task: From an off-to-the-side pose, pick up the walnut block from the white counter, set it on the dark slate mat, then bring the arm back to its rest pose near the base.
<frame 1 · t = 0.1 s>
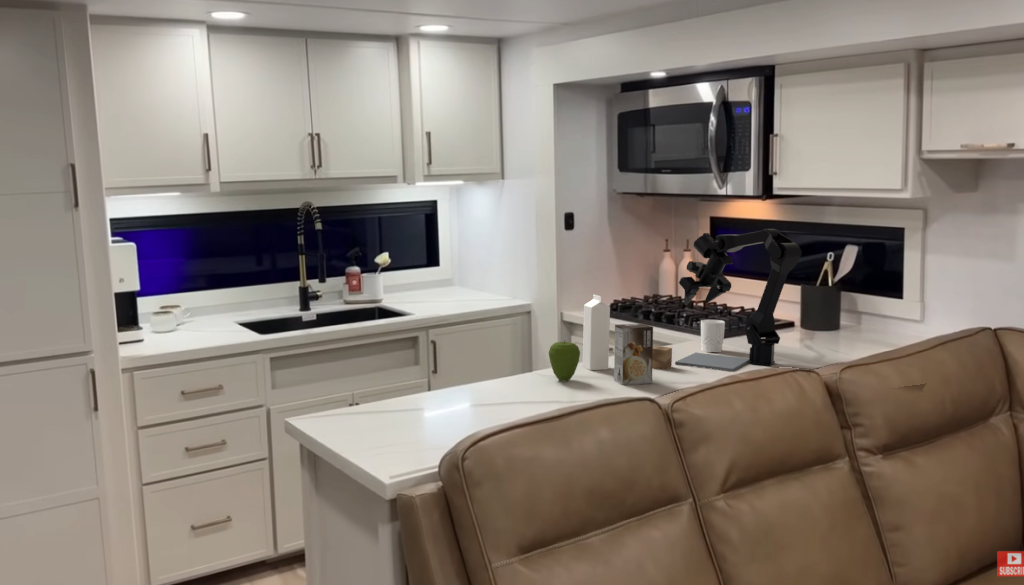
hand: (695, 303, 297), 15 cm above the counter, tool tilted 30°, fingers open, 9 cm apart
milk: (595, 368, 263), on the counter
white cup: (711, 351, 292), on the counter
printed cardboard box: (632, 382, 245), on the counter
walnut block: (660, 367, 265), on the counter
slate mat: (713, 362, 272), on the counter
apple: (563, 380, 246), on the counter
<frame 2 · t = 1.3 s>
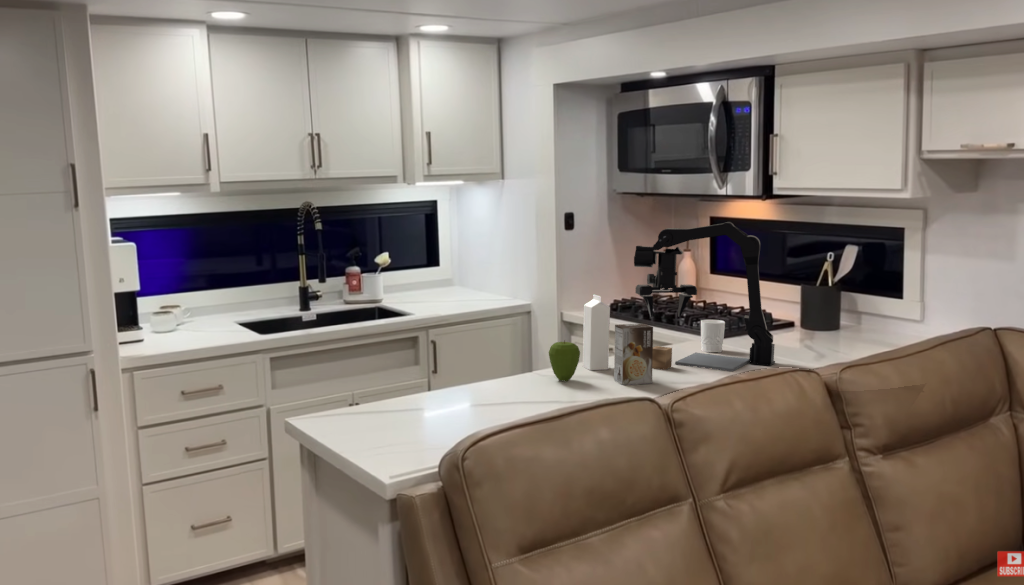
hand: (665, 316, 279), 13 cm above the counter, tool pointing down, fingers open, 9 cm apart
nothing on the counter moved.
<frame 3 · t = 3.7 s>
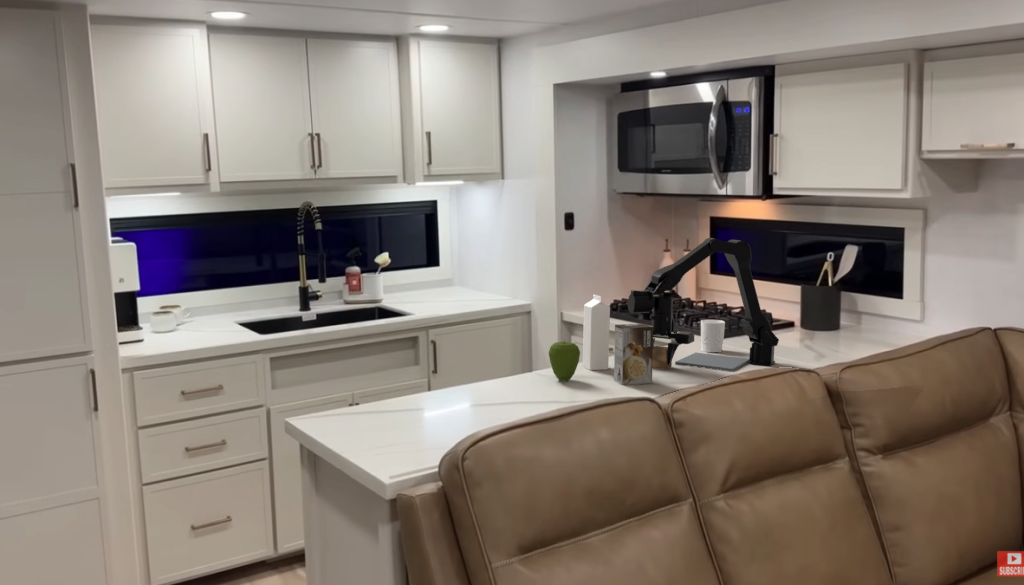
hand: (660, 363, 264), 1 cm above the counter, tool pointing down, fingers closed on walnut block, 5 cm apart
walnut block: (660, 367, 265), on the counter, touching gripper
everything else where it was.
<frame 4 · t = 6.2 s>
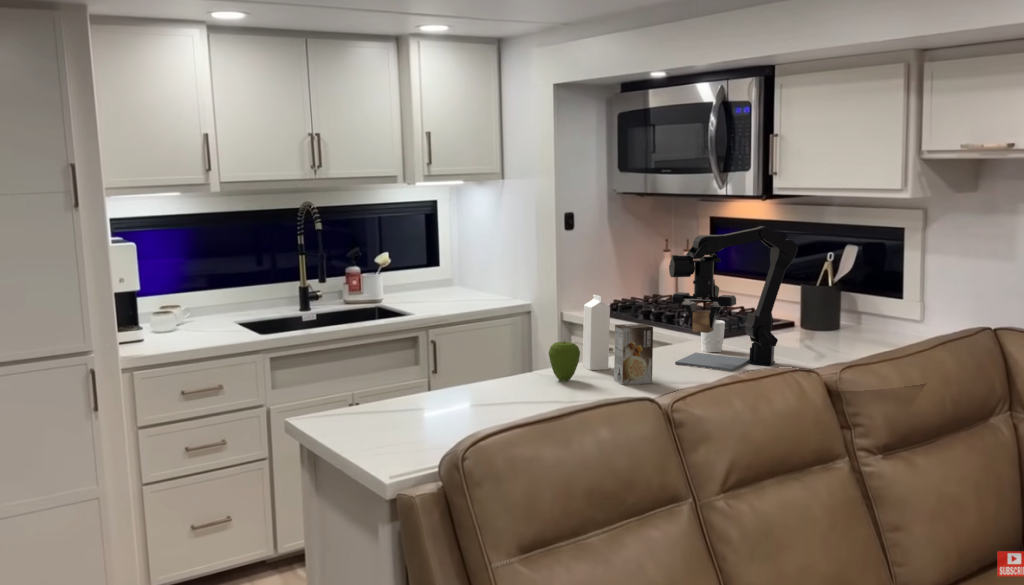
hand: (703, 327, 269), 12 cm above the counter, tool pointing down, fingers closed on walnut block, 5 cm apart
walnut block: (703, 331, 269), point 10 cm above the counter, touching gripper
everything else where it was.
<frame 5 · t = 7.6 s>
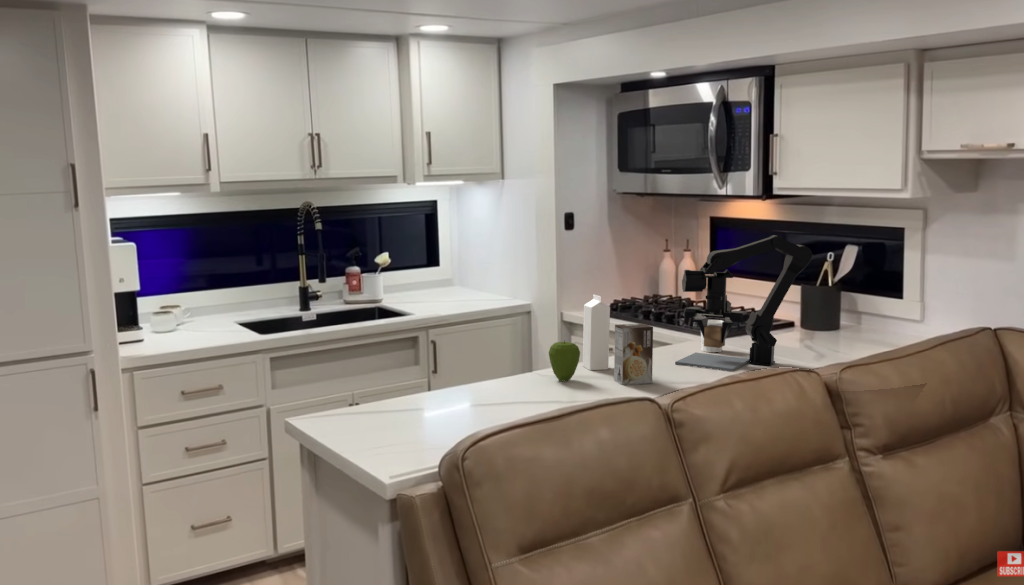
hand: (714, 342, 272), 7 cm above the counter, tool pointing down, fingers closed on walnut block, 5 cm apart
walnut block: (714, 345, 272), point 5 cm above the counter, touching gripper
everything else where it was.
when the fingers open (3 cm above the counter, at t = 8.6 s): walnut block drops 1 cm, resting on slate mat.
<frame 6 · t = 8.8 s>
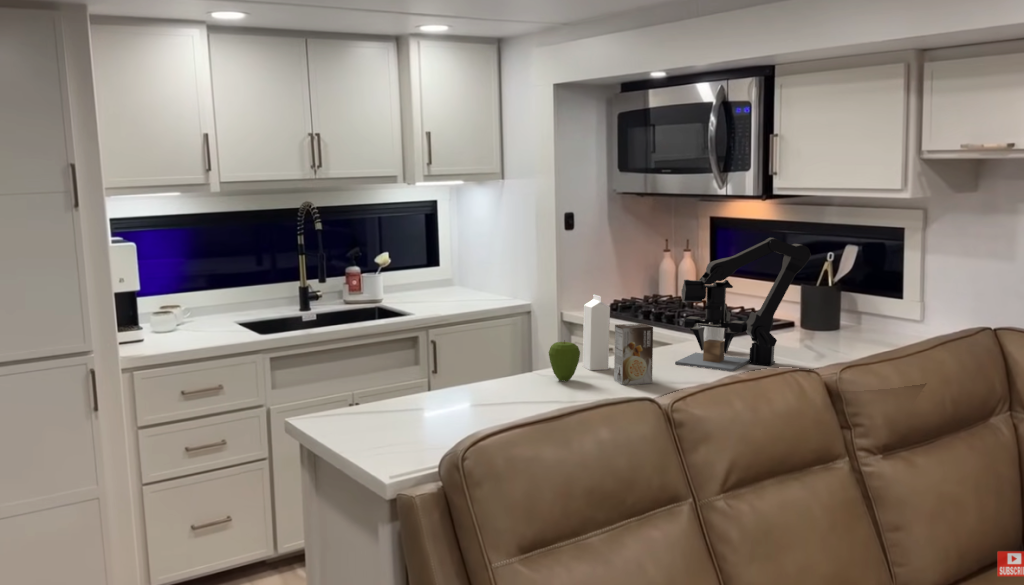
hand: (713, 351, 272), 3 cm above the counter, tool pointing down, fingers open, 7 cm apart
walnut block: (713, 360, 272), point 1 cm above the counter, touching slate mat
everything else where it was.
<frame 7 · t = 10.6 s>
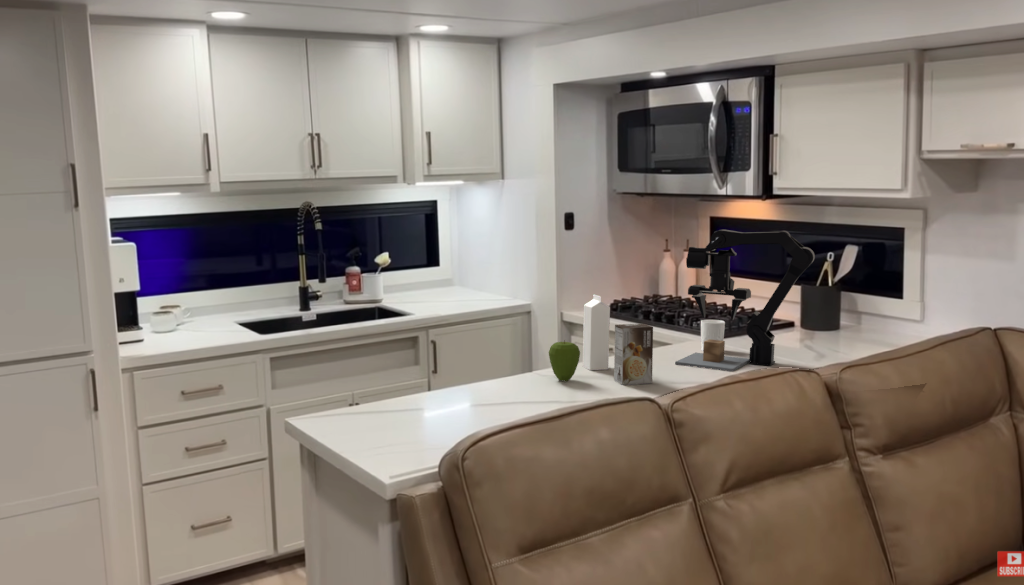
hand: (718, 318, 276), 13 cm above the counter, tool pointing down, fingers open, 9 cm apart
nothing on the counter moved.
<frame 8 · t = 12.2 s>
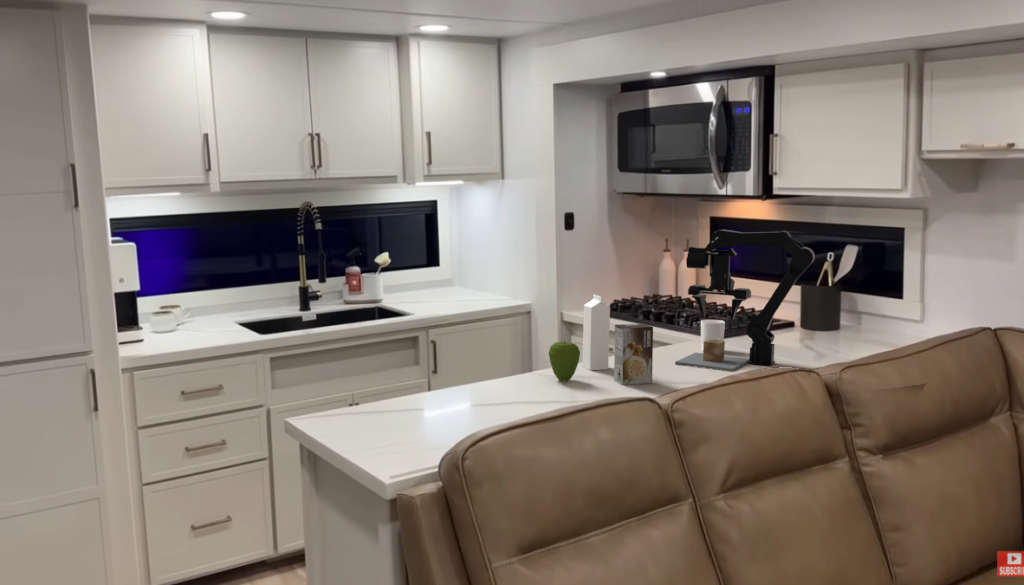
hand: (718, 318, 276), 13 cm above the counter, tool pointing down, fingers open, 9 cm apart
nothing on the counter moved.
at the end: walnut block inside the target area on the slate mat (0.0 cm from its centre), point 0.8 cm above the slate mat's base; walnut block tilted 0°; the gripper is holding nothing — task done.
